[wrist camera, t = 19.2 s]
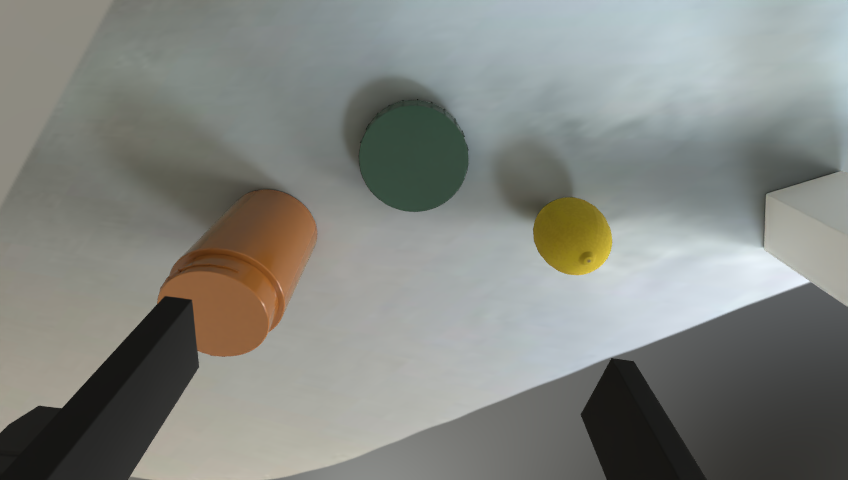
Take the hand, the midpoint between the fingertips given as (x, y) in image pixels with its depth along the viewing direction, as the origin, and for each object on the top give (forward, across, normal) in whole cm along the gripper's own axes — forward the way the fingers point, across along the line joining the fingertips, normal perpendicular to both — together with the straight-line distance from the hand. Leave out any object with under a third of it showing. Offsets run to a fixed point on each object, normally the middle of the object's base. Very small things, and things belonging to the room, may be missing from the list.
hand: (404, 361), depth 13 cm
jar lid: (+21, 0, 0) cm, 21 cm away
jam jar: (+23, -11, -9) cm, 27 cm away
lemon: (+23, +13, -3) cm, 27 cm away
